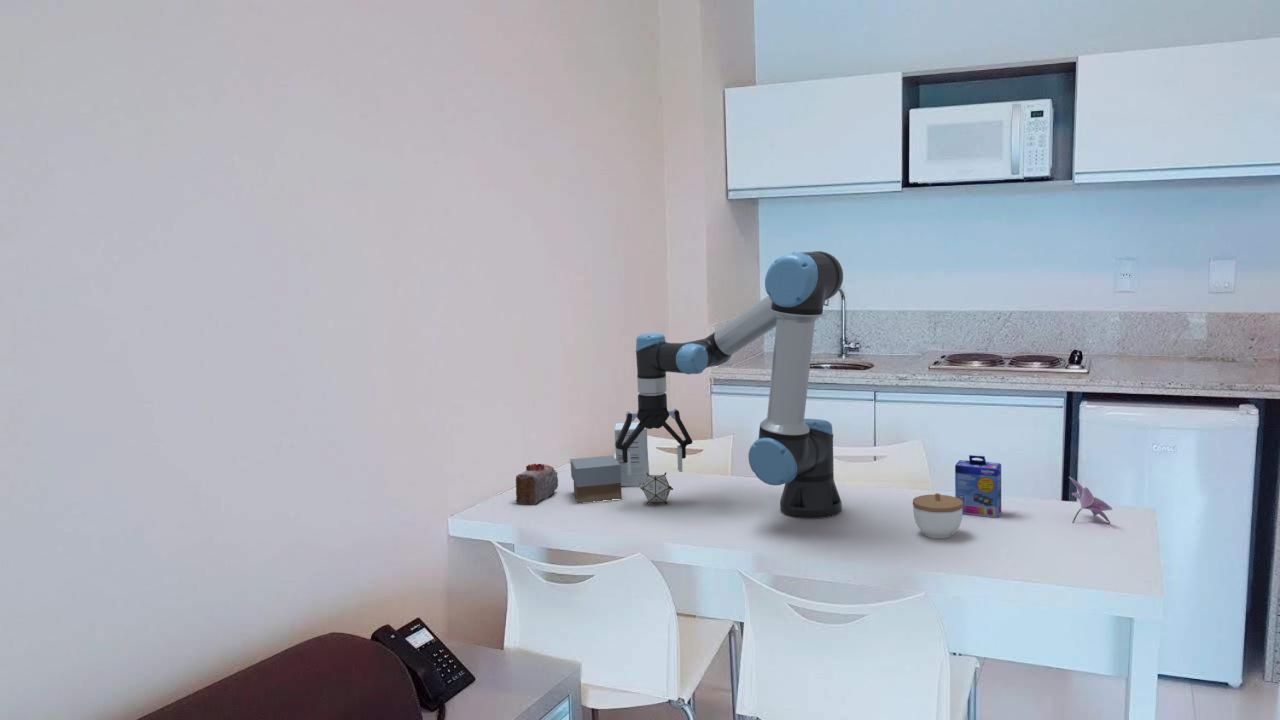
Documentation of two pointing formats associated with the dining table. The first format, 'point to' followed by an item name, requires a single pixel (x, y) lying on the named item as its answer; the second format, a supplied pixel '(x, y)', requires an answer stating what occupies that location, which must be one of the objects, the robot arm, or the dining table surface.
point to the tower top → (595, 471)
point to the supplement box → (633, 457)
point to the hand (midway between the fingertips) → (654, 472)
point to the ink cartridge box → (979, 486)
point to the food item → (536, 484)
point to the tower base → (597, 492)
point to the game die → (656, 488)
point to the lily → (1090, 501)
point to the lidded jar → (937, 514)
